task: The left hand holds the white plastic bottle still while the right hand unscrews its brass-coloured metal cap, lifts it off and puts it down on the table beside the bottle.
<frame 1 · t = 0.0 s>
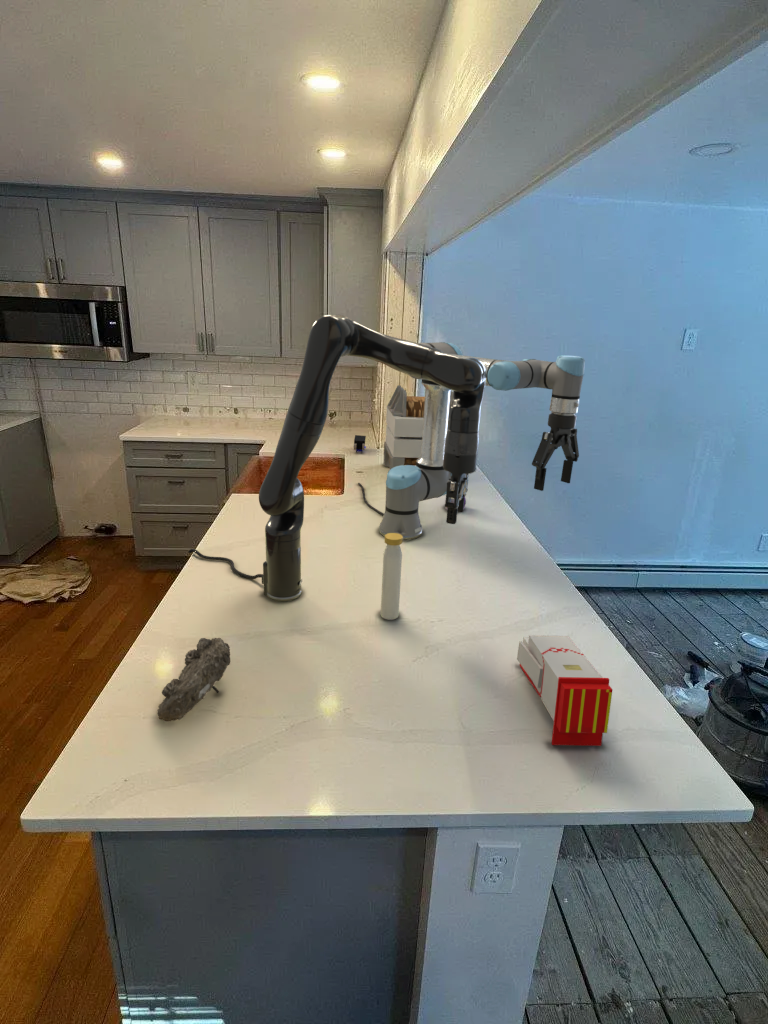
left hand: (454, 517, 133), 29 cm above the counter, tool pointing down, fingers open, 8 cm apart
right hand: (552, 485, 166), 28 cm above the counter, tool pointing down, fingers open, 13 cm apart
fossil: (200, 691, 115), on the counter
cap: (393, 537, 139), point 22 cm above the counter, screwed on, not yet turned
white slatted box: (419, 473, 275), on the counter
figurine: (455, 509, 227), on the counter
toy: (553, 698, 118), on the counter
bottle: (389, 615, 147), on the counter
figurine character: (359, 451, 312), on the counter
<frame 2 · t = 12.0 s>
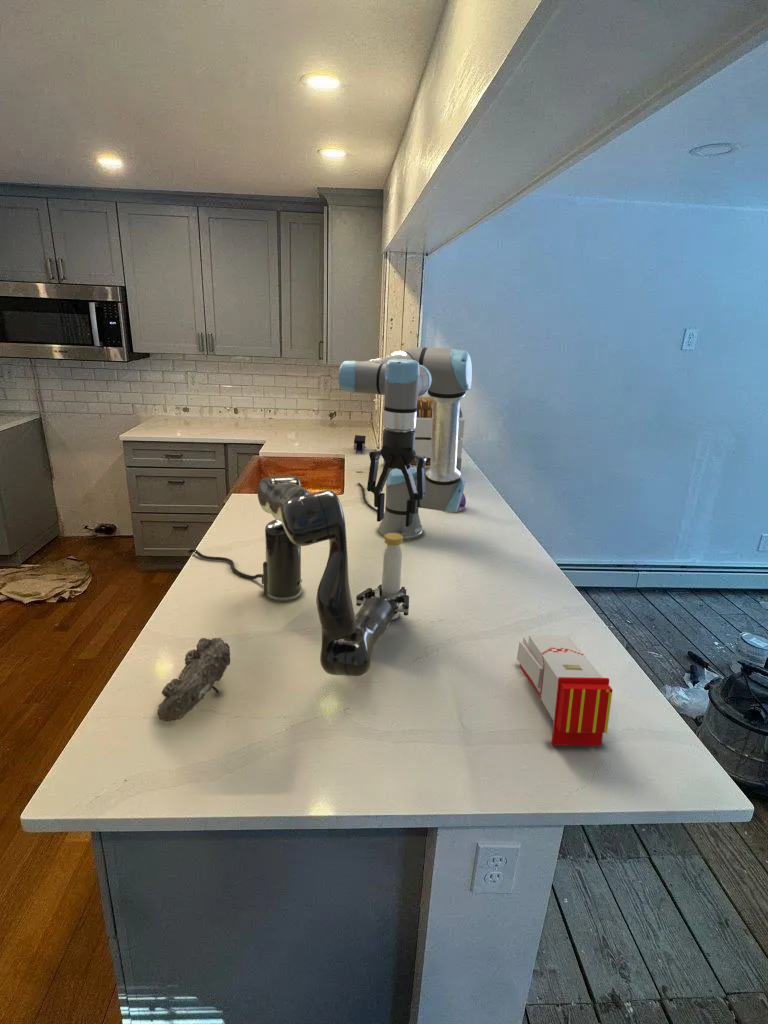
left hand: (393, 588, 147), 7 cm above the counter, tool horizontal, fingers closed on bottle, 4 cm apart
right hand: (394, 522, 138), 26 cm above the counter, tool pointing down, fingers open, 7 cm apart
bottle: (389, 615, 147), on the counter, touching left hand
everything else where it was.
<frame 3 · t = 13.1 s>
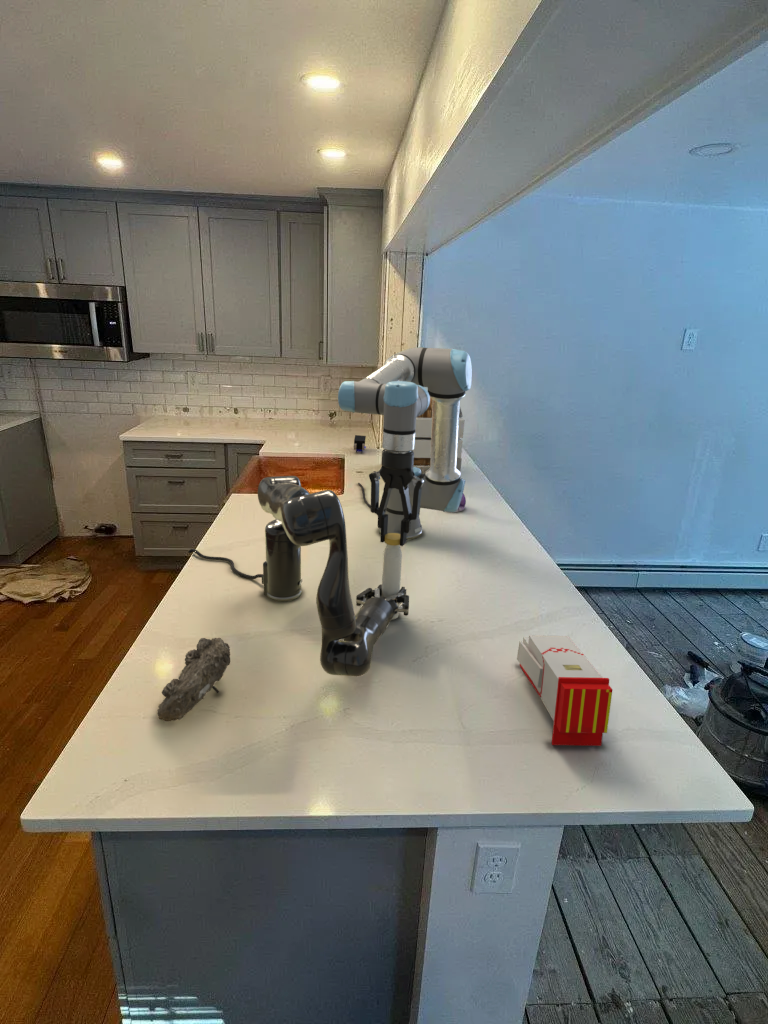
left hand: (393, 588, 147), 7 cm above the counter, tool horizontal, fingers closed on bottle, 4 cm apart
right hand: (393, 542, 140), 21 cm above the counter, tool pointing down, fingers closed on cap, 4 cm apart
cap: (393, 537, 139), point 22 cm above the counter, screwed on, not yet turned, touching right hand
bottle: (389, 615, 147), on the counter, touching left hand
everything else where it was.
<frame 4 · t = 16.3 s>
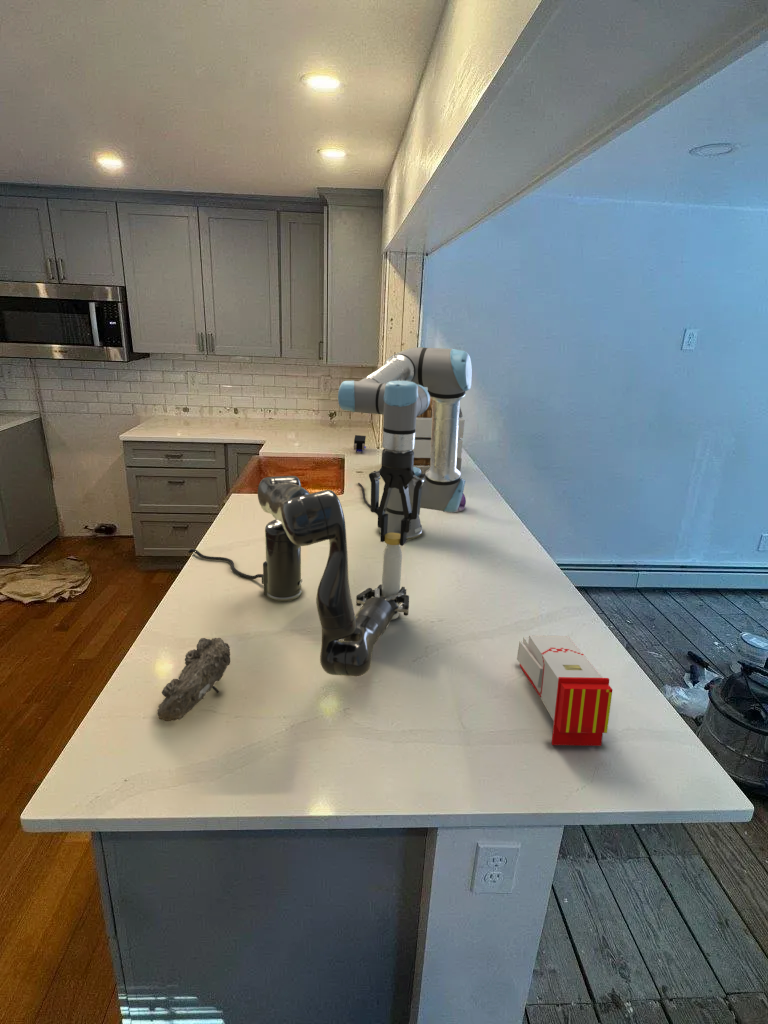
left hand: (393, 588, 147), 6 cm above the counter, tool horizontal, fingers closed on bottle, 4 cm apart
right hand: (393, 541, 140), 21 cm above the counter, tool pointing down, fingers closed on cap, 4 cm apart
cap: (393, 537, 139), point 22 cm above the counter, turned 101° so far, risen 0.1 cm, still on its thread, touching right hand
bottle: (389, 615, 147), on the counter, touching left hand
everything else where it was.
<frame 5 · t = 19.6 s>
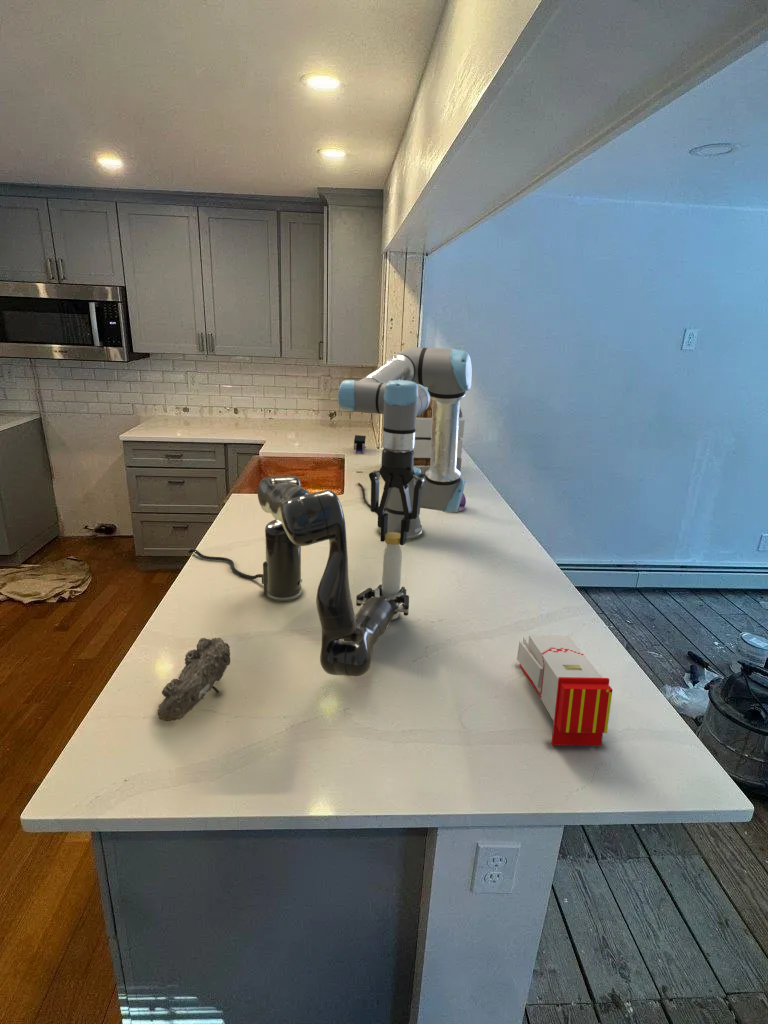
left hand: (393, 588, 147), 6 cm above the counter, tool horizontal, fingers closed on bottle, 4 cm apart
right hand: (393, 541, 140), 21 cm above the counter, tool pointing down, fingers closed on cap, 4 cm apart
cap: (393, 536, 139), point 22 cm above the counter, turned 202° so far, risen 0.2 cm, still on its thread, touching right hand
bottle: (389, 615, 147), on the counter, touching left hand
everything else where it was.
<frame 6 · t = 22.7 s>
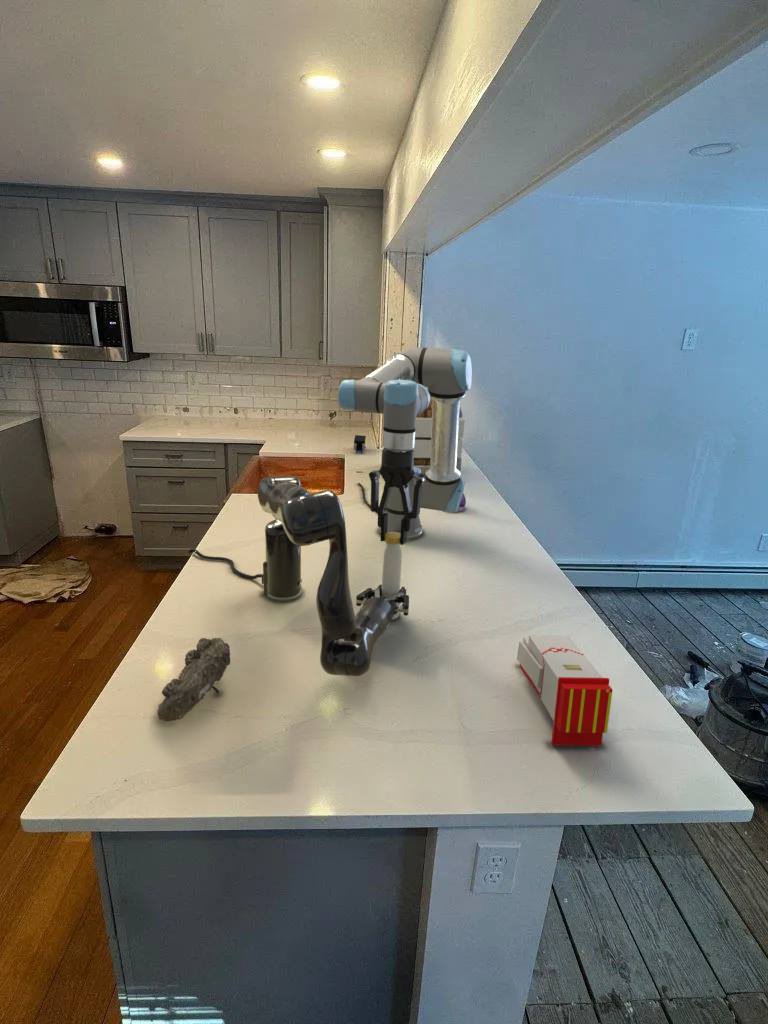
left hand: (393, 588, 147), 6 cm above the counter, tool horizontal, fingers closed on bottle, 4 cm apart
right hand: (393, 540, 140), 21 cm above the counter, tool pointing down, fingers closed on cap, 4 cm apart
cap: (393, 536, 139), point 22 cm above the counter, turned 303° so far, risen 0.3 cm, still on its thread, touching right hand
bottle: (389, 615, 147), on the counter, touching left hand
everything else where it was.
when the right hand's fingers open (1 cm above the counter, at t = 28.9 s): cap drops 1 cm, point 1 cm above the counter.
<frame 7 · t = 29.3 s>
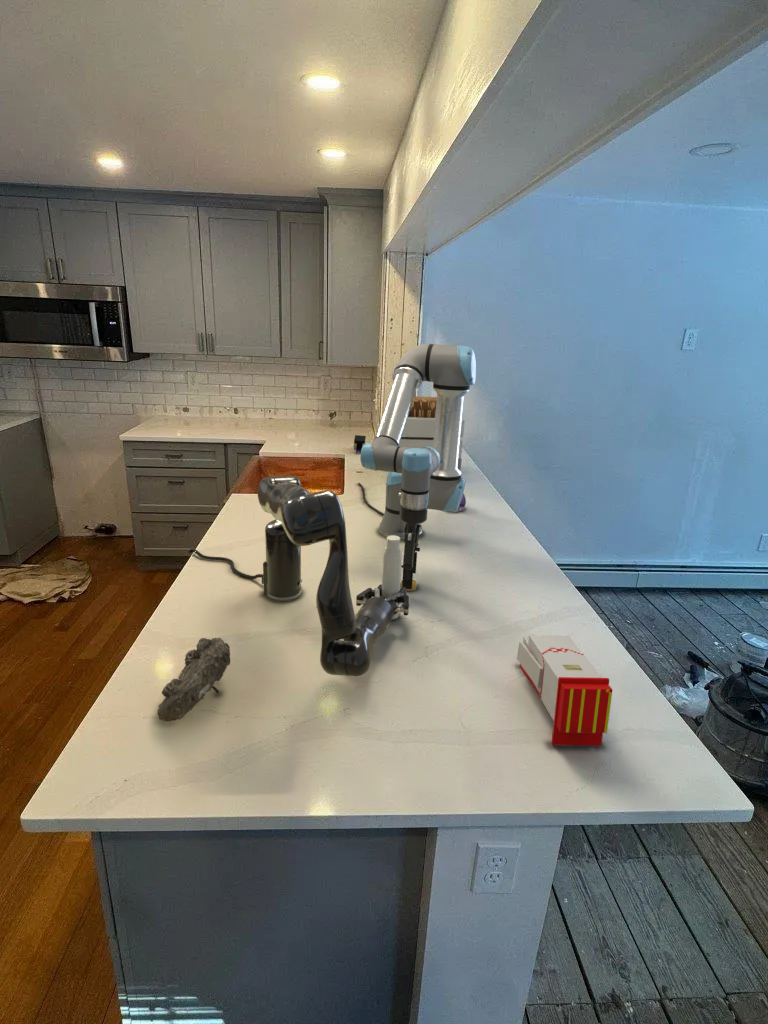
left hand: (393, 588, 147), 7 cm above the counter, tool horizontal, fingers closed on bottle, 4 cm apart
right hand: (409, 580, 161), 2 cm above the counter, tool pointing down, fingers open, 9 cm apart
cap: (408, 583, 162), point 1 cm above the counter, off its thread
bottle: (389, 615, 147), on the counter, touching left hand
everything else where it was.
when the left hand's fingers open (7 cm above the counter, at t = 30.2 s): bottle stays where it is, on the counter.
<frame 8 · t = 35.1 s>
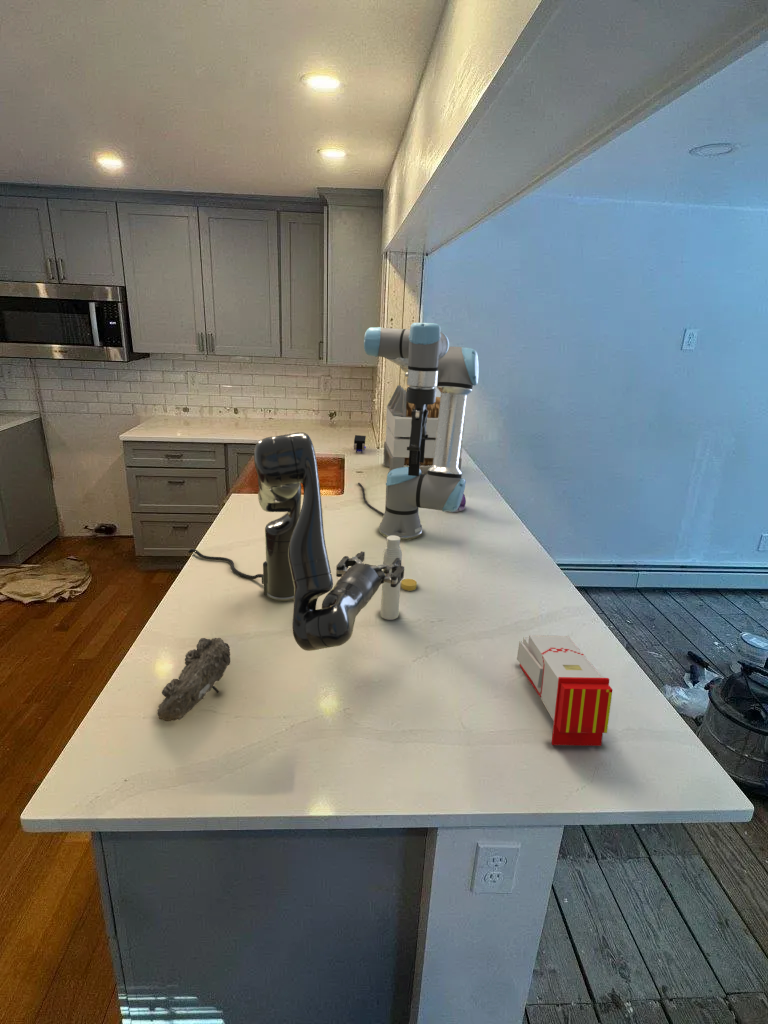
left hand: (380, 558, 131), 20 cm above the counter, tool horizontal, fingers open, 8 cm apart
right hand: (416, 468, 150), 35 cm above the counter, tool pointing down, fingers open, 13 cm apart
bottle: (389, 615, 147), on the counter
everything else where it was.
at the end: cap came off its thread; cap point 1.2 cm above the counter; the left hand is holding nothing; the right hand is holding nothing; bottle tilted 0°; bottle moved 0.0 cm from its start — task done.
